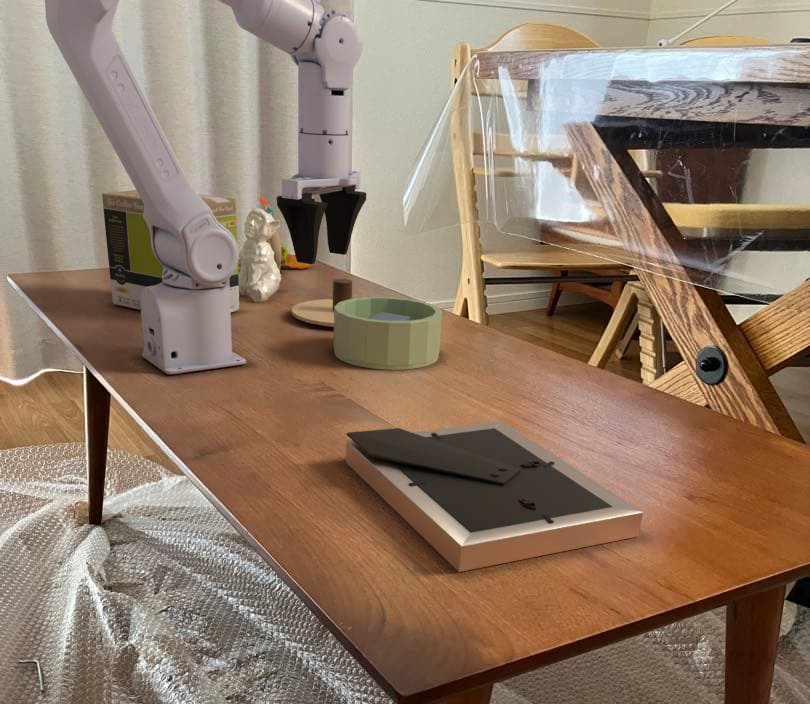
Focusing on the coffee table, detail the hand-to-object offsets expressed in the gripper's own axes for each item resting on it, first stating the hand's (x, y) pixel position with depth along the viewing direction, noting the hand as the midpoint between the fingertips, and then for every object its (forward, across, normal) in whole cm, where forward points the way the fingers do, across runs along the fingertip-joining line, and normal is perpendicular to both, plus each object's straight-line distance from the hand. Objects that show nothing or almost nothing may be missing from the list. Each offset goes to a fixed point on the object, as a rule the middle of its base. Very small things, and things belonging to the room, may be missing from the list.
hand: (322, 258), depth 109 cm
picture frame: (+11, -32, -34) cm, 48 cm away
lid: (+10, +12, +4) cm, 16 cm away
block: (+10, 0, -9) cm, 13 cm away
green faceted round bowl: (+10, +1, -9) cm, 14 cm away
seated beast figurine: (+10, +18, +22) cm, 30 cm away
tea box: (+11, +4, +25) cm, 27 cm away
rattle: (+10, +35, +27) cm, 45 cm away
